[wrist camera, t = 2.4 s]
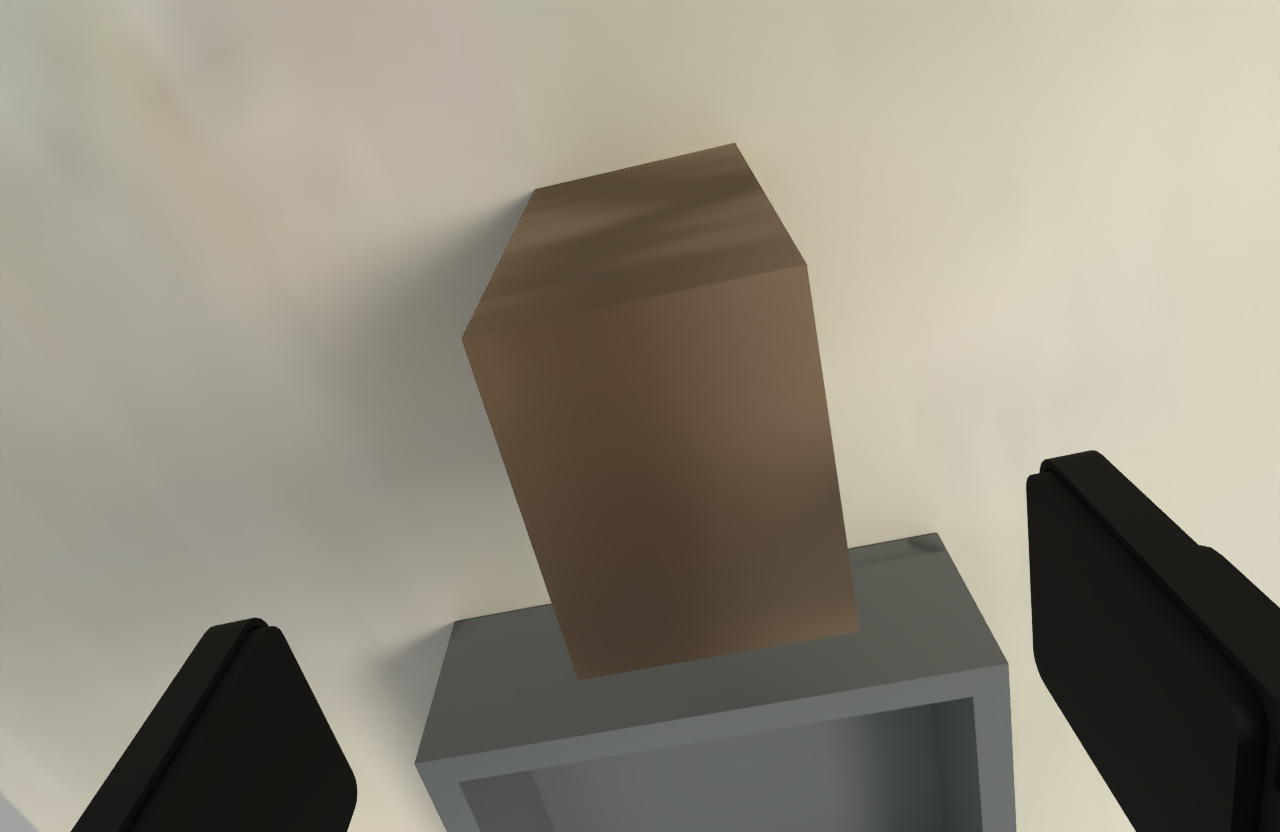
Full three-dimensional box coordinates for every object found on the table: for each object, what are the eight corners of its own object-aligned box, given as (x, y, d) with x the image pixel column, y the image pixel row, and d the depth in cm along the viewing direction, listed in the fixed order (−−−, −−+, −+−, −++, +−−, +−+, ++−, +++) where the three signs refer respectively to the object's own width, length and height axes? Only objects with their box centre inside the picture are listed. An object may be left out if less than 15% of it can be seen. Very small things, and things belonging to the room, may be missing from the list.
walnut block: (734, 142, 19) (806, 264, 11) (777, 387, 22) (859, 631, 13) (535, 189, 19) (461, 338, 11) (600, 423, 22) (578, 680, 14)
